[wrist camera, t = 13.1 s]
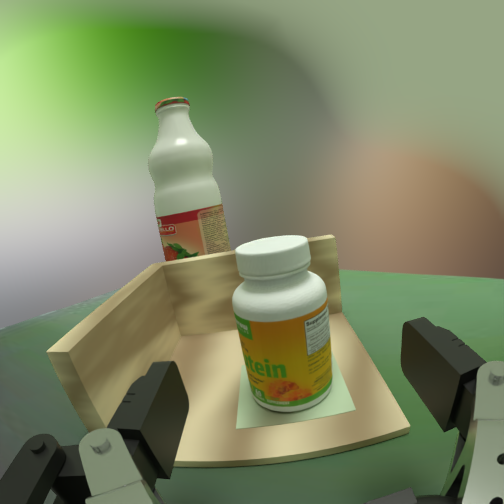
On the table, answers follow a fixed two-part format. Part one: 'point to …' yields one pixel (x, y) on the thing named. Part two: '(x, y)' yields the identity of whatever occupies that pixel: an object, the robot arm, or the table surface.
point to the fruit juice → (185, 187)
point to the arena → (221, 367)
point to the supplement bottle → (283, 324)
